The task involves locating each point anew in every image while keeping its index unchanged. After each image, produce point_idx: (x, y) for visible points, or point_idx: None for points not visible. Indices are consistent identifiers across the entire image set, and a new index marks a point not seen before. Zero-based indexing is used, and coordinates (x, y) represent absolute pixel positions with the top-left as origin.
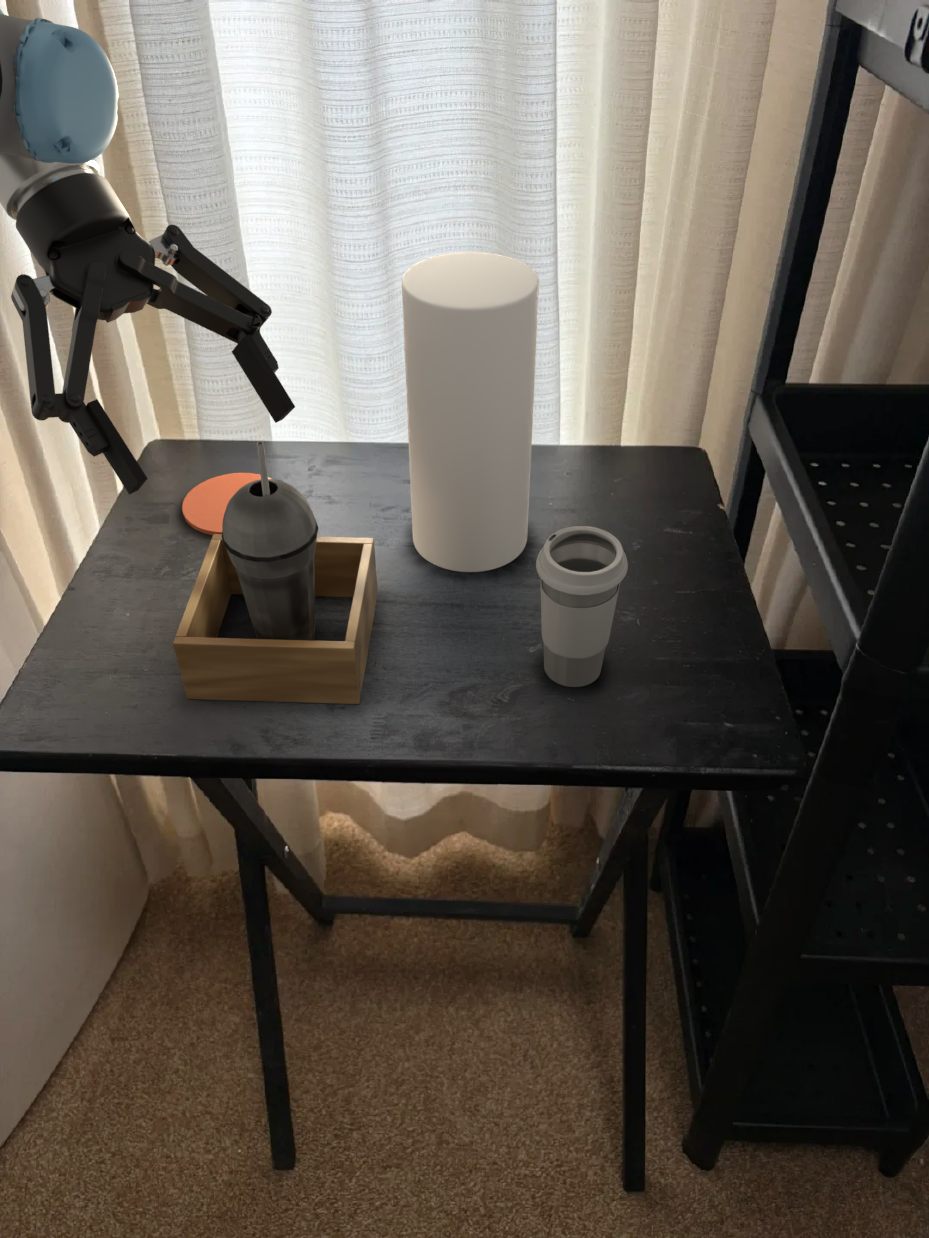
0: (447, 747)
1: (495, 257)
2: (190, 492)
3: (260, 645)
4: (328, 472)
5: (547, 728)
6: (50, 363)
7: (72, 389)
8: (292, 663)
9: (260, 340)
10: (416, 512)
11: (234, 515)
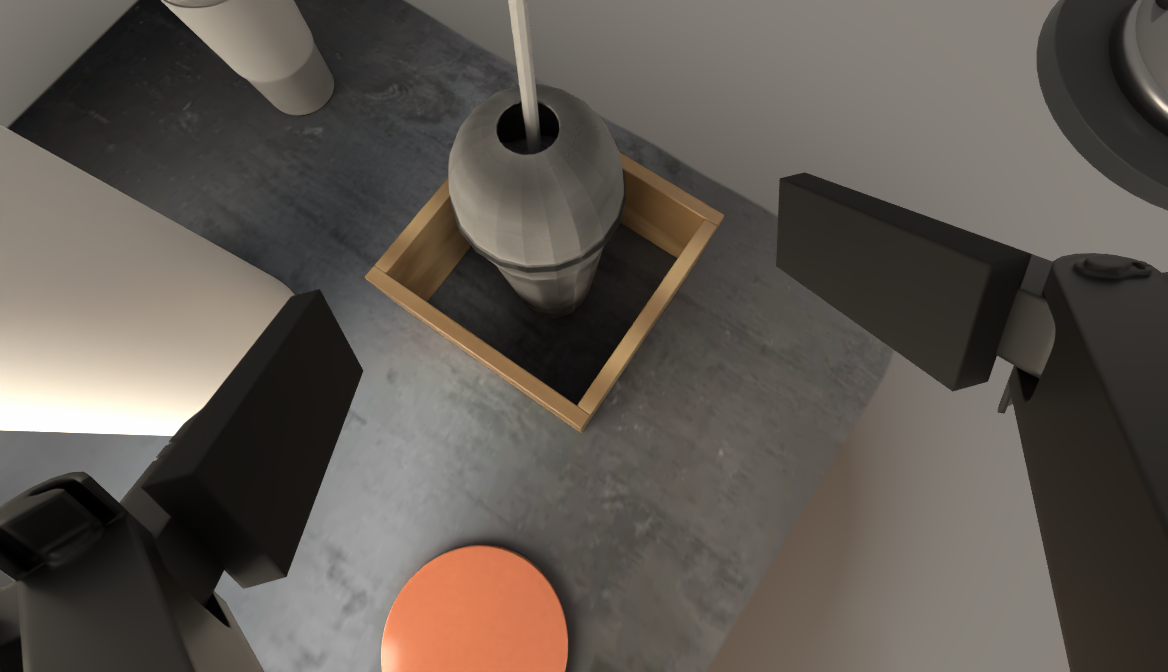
0: (484, 66)
1: None
2: None
3: (621, 153)
4: (287, 651)
5: (385, 38)
6: None
7: (1141, 286)
8: None
9: (135, 500)
10: None
11: (605, 138)
